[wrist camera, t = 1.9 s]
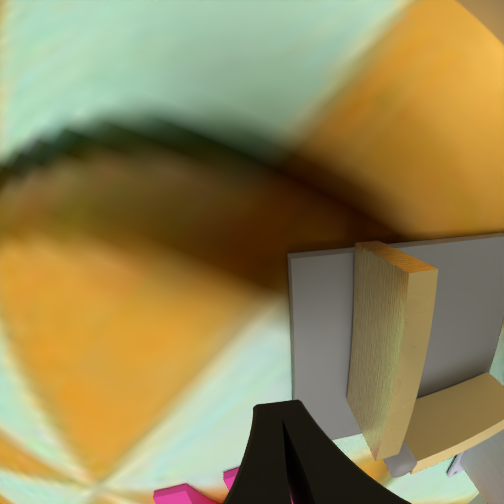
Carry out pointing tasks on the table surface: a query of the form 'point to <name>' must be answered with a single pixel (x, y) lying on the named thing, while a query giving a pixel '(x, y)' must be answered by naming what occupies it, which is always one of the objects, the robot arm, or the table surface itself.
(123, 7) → the table surface
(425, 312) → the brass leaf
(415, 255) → the hinge mount
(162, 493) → the bracket
